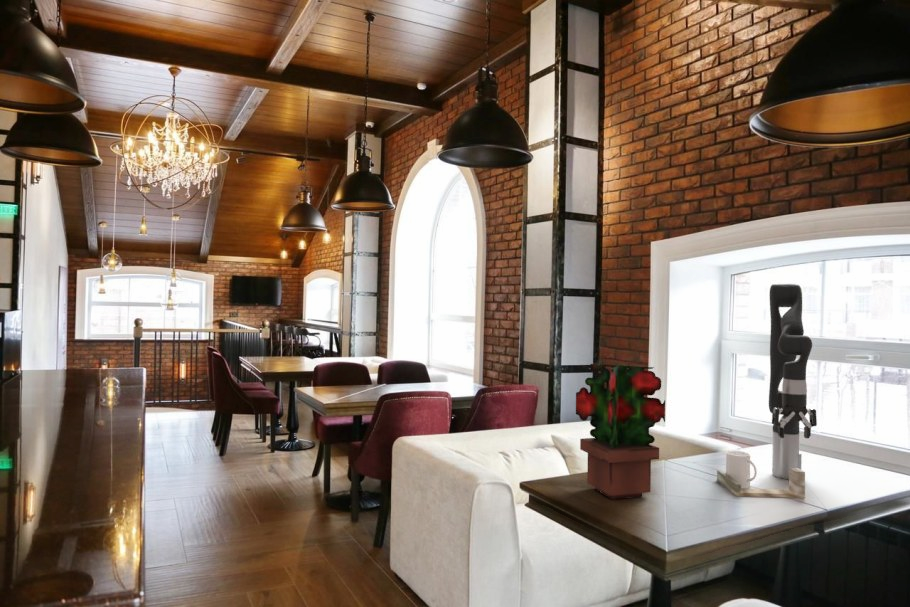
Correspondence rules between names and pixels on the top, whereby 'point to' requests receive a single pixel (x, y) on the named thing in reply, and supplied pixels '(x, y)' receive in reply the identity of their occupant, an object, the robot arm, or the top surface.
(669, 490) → the top surface
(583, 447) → the potted plant
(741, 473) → the mug
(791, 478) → the bracket
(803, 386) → the robot arm
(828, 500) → the top surface
